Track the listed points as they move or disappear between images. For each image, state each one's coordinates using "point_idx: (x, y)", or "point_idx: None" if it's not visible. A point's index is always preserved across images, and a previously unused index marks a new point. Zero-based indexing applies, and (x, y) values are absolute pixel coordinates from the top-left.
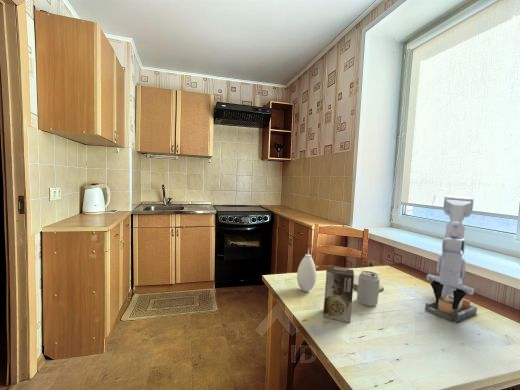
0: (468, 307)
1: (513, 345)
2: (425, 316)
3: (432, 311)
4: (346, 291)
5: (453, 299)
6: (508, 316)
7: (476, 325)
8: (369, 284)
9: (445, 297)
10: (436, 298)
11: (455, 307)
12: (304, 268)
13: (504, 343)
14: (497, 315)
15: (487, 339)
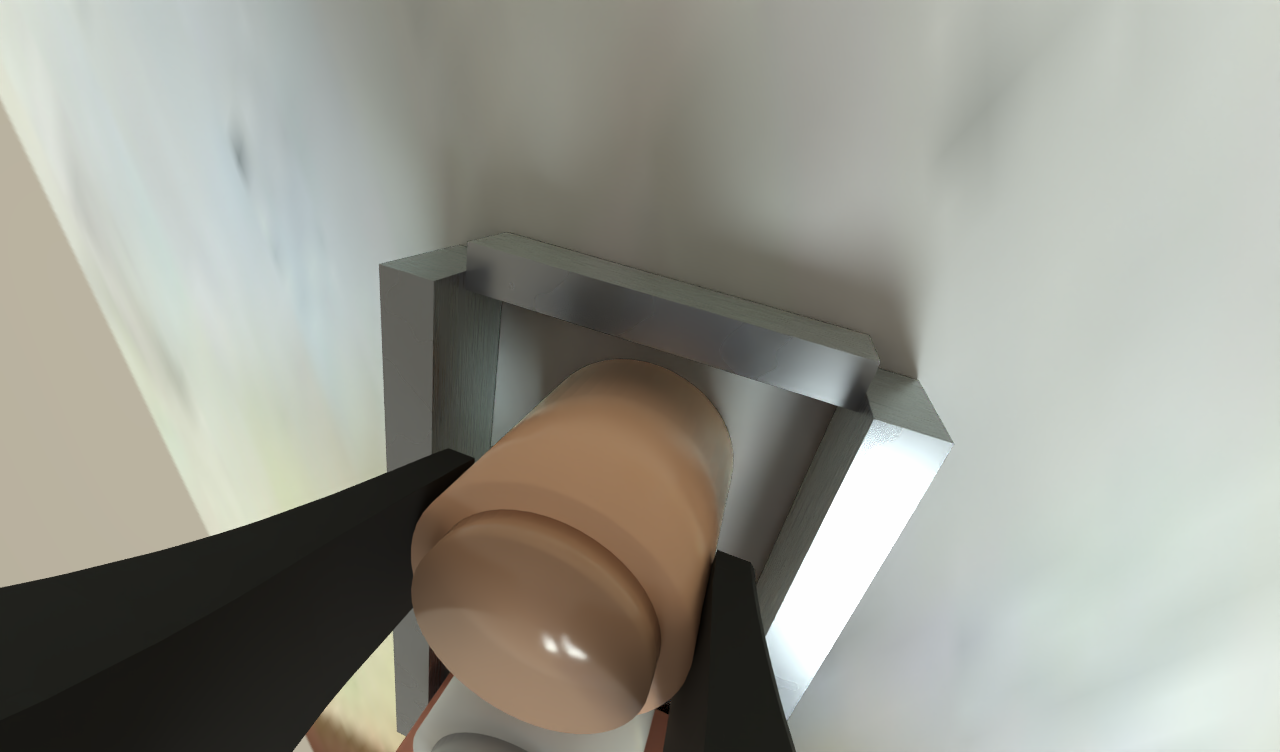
0: (439, 689)
1: (58, 201)
2: (885, 4)
3: (784, 319)
4: None
5: (497, 735)
6: (329, 735)
7: (345, 394)
8: None
9: (575, 721)
10: (740, 623)
11: (408, 474)
12: None
13: (85, 165)
14: (362, 716)
15: (151, 87)
